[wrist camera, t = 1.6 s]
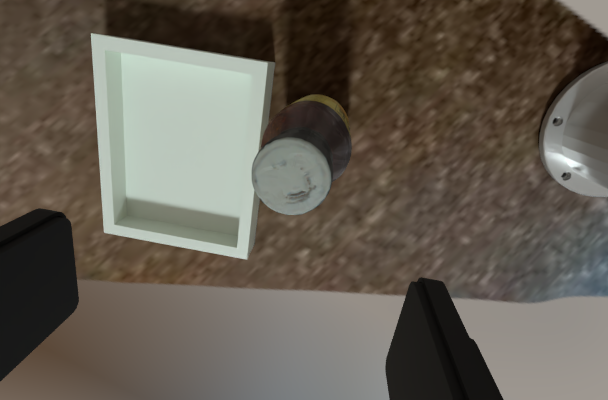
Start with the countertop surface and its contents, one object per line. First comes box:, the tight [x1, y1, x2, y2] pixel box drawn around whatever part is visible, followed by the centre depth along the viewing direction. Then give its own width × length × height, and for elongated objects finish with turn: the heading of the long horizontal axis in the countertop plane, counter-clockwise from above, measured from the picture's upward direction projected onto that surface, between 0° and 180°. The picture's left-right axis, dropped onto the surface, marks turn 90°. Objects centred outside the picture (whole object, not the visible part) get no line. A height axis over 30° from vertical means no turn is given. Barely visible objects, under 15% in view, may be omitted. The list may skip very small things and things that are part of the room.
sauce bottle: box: [252, 94, 352, 215], centre depth 27 cm, size 6×6×20 cm
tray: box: [91, 33, 275, 259], centre depth 37 cm, size 16×20×4 cm
